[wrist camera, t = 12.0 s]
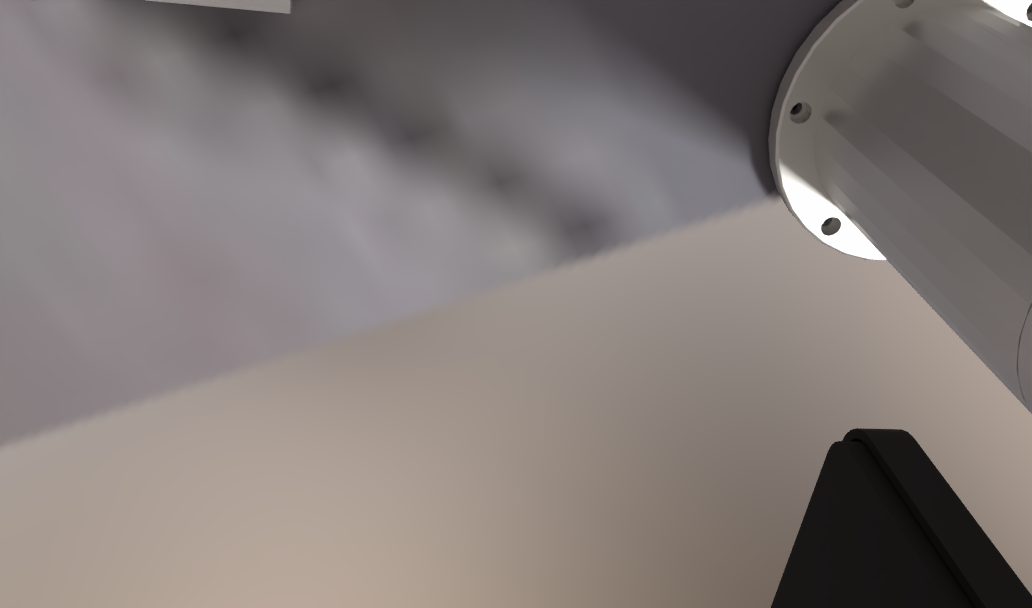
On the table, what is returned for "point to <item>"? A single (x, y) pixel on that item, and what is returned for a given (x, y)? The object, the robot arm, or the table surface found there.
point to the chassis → (241, 4)
